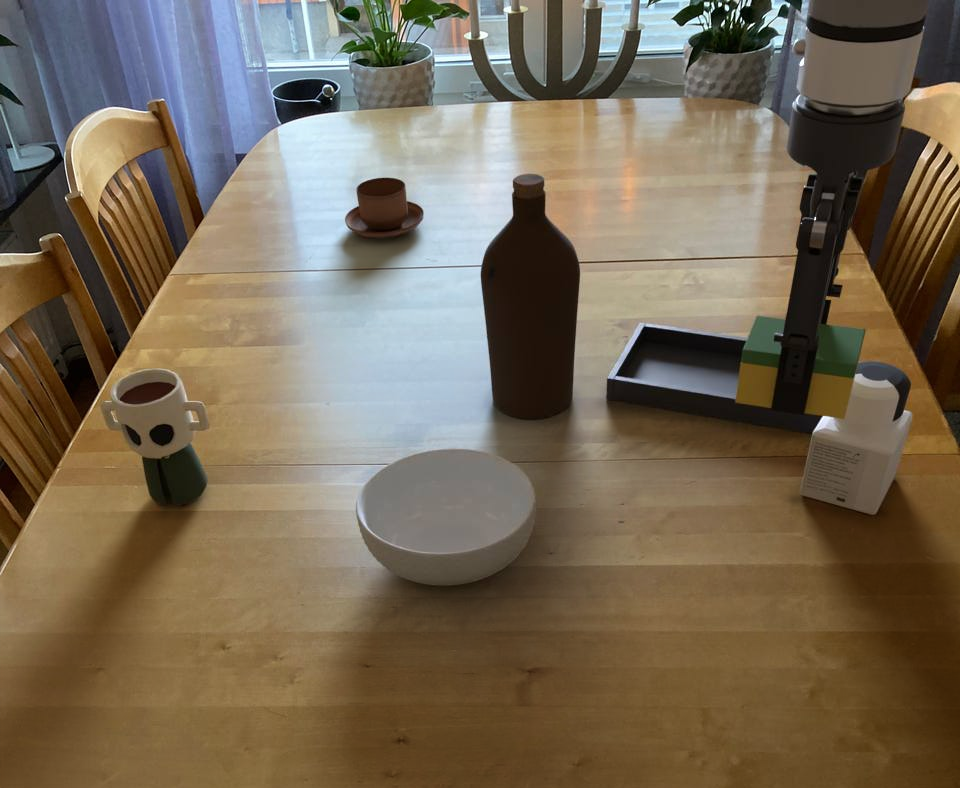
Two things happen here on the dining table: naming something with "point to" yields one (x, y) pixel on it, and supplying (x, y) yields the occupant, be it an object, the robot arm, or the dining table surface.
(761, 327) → the sponge
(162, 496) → the character mug
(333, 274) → the dining table surface
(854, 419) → the container
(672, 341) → the tray
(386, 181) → the cup and saucer
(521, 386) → the olive oil
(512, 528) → the cereal bowl
